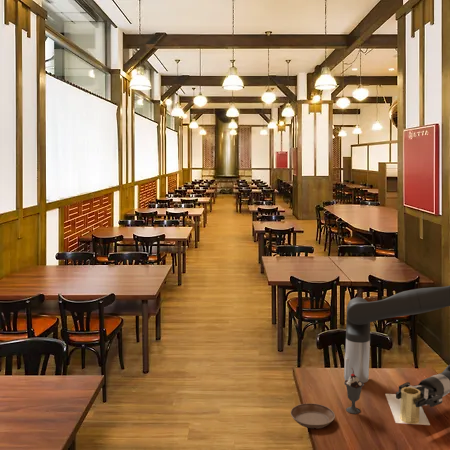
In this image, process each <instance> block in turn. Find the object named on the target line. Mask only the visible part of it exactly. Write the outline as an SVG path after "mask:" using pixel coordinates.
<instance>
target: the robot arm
mask: <svg viewBox="0 0 450 450" xmlns="http://www.w3.org/2000/svg"><path fill="white" fill-rule="evenodd" d="M447 307H448V308H449V307H450V285H446V286H436V287H435V286H434V287H432V286H431V287H422V288H421V287H420V288H414V289H409V290H404V291H400V292H398V293H395V294H393V295H391V296H389V297H386V298H384V299H380V300H374V301H368V300H367V299H365V298H363V297H360V296H357V297H354V298H352V299H350V300H349V302H348V304H347V305H346V324H345V325H346V326H345V354H344V364H343V365H344V368H343V369H344V371H343V378H344V381H345V380H349V378H350V377H351V374H353V371H354V374H355V376H356V377H357V378H358V380H359V381H361V382H362V383H363V384H364V383H367V382H368V381H369V378H370V377H369V376H370V375H369V374H370V372H369V371H370V348H371V347H370V345H371V323H373V322H377V321H381V320H385V319H389V318H391V319H392V318H398V317H406V316H412V315H418V314H419V315H420V314H426V313H429V312H433V311H436V310H440V309H444V308H447ZM352 368H353V370H352ZM404 387H412V388H416V389H418V390H419V391H420V392H421V396H420V399H418V400H416V405H415V406H416V407H424V406H429V407H430V408H434V407H435V406H436V407H437V406H438V405H441V404H442V403H443V398H444V397H445V396H447V395H448V394H450V364H448V365H447V366H446V367H445V369H444V370H443V371H442V372H440V373H438V374H434V375H431V376H429V377H427V378H424V379H422V380H421V381H419V383H418V384H416V385H411V382H409V381H407V382H406V381H405V383H403V384H400V385H398V390H397V391H396V392H395V394H396V398H397V399H400V398H401V389H402V388H404Z"/></svg>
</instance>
